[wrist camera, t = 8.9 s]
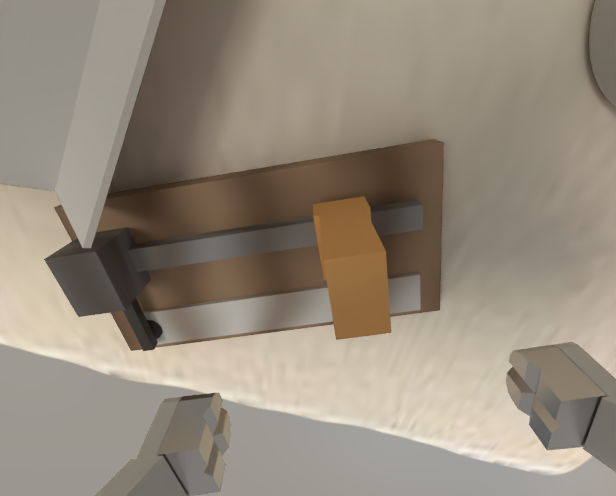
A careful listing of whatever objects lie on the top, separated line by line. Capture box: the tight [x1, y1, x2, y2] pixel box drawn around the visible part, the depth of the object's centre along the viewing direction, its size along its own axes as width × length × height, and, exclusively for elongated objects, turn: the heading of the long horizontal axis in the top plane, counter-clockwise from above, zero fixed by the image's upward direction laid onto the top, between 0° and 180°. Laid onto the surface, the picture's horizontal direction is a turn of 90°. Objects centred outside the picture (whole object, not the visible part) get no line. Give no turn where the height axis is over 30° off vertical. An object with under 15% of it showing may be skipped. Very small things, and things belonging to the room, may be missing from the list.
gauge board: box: [44, 139, 443, 351], centre depth 21 cm, size 24×12×5 cm, turn 99°
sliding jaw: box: [313, 196, 391, 340], centre depth 18 cm, size 3×9×8 cm, turn 9°
